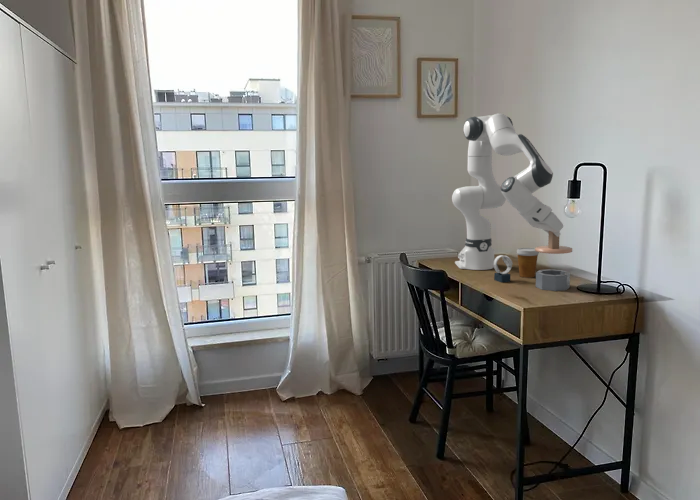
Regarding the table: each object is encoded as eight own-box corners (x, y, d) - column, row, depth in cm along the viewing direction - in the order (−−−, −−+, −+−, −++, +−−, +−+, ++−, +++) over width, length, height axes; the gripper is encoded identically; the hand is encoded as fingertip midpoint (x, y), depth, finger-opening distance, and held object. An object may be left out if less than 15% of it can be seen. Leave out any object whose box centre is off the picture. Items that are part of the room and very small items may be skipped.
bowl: (531, 284, 233) (531, 270, 232) (558, 282, 235) (558, 268, 234) (546, 291, 221) (547, 276, 220) (574, 289, 223) (575, 274, 222)
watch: (514, 281, 241) (514, 255, 239) (497, 283, 238) (498, 257, 237) (506, 278, 246) (507, 253, 244) (490, 280, 244) (490, 255, 242)
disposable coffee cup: (542, 277, 246) (543, 250, 244) (522, 279, 244) (523, 251, 242) (531, 273, 255) (531, 247, 253) (511, 274, 253) (512, 248, 251)
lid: (528, 249, 231) (529, 224, 230) (559, 247, 234) (560, 223, 232) (546, 254, 218) (547, 228, 216) (579, 252, 220) (580, 226, 219)
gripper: (515, 214, 231) (536, 237, 235) (541, 219, 212) (564, 244, 215) (525, 203, 232) (547, 225, 235) (552, 207, 212) (575, 231, 215)
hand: (555, 234), depth 225 cm, fingers closed on lid, 3 cm apart
